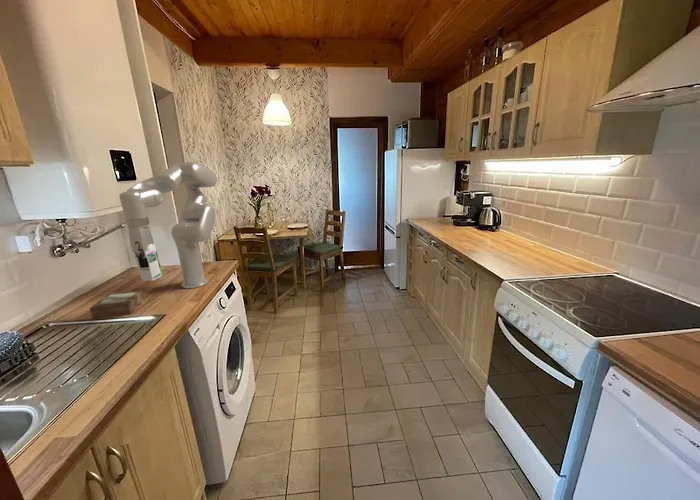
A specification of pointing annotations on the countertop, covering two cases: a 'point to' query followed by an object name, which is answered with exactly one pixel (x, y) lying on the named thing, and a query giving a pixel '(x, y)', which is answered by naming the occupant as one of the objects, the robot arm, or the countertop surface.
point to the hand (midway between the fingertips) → (148, 264)
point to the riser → (117, 304)
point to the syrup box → (150, 265)
